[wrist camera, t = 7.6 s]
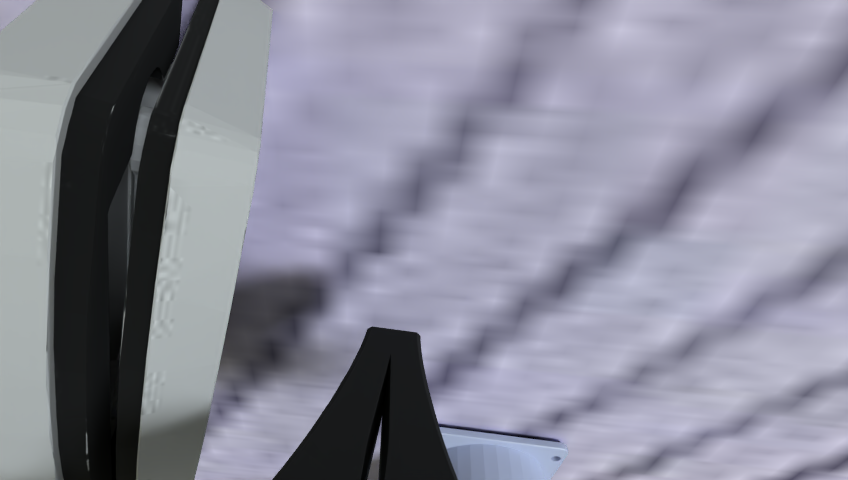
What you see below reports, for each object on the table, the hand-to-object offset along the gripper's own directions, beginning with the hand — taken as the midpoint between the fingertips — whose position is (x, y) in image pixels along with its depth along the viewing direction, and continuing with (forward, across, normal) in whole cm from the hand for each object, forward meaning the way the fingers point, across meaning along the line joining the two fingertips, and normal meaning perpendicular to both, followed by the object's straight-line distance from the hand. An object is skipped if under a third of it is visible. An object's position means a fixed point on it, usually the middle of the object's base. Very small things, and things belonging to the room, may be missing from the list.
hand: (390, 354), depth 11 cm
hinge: (+5, +8, 0) cm, 9 cm away
